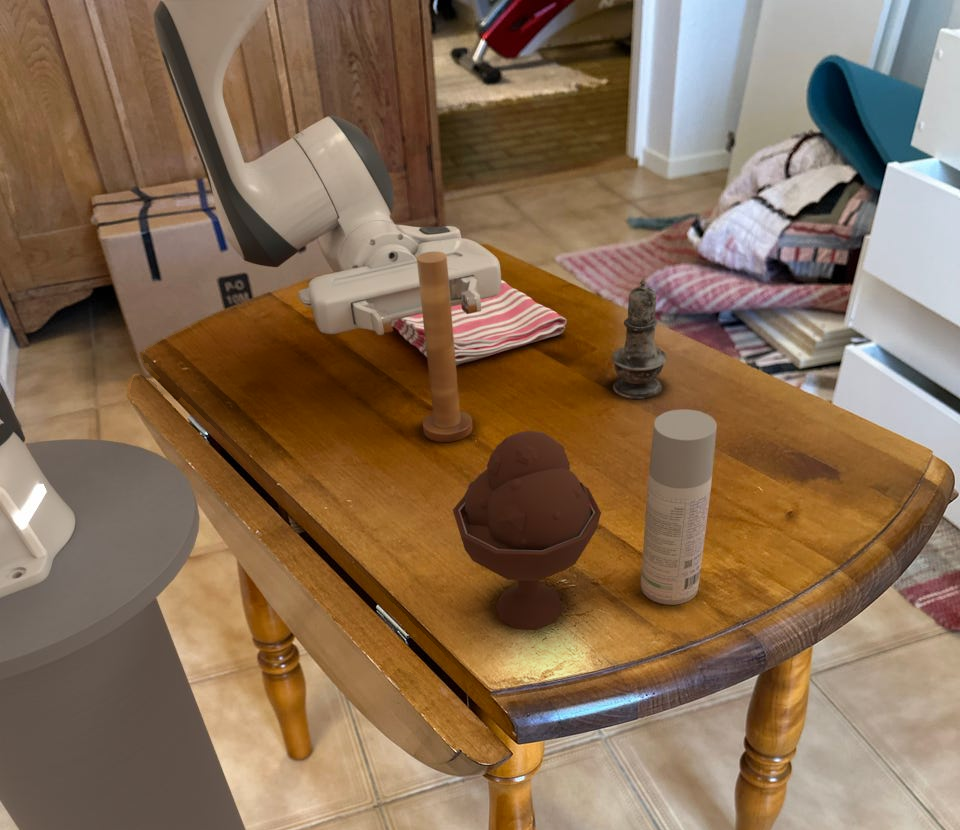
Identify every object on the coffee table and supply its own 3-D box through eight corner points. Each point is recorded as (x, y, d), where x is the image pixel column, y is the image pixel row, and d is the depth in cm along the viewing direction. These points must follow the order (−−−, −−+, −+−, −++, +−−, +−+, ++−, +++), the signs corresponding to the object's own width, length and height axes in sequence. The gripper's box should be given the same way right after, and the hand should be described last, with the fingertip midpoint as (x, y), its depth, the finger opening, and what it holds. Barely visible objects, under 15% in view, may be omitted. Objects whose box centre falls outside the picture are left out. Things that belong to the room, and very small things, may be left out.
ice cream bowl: (439, 596, 77) (420, 437, 67) (552, 551, 81) (550, 394, 71) (502, 671, 70) (492, 505, 60) (623, 618, 74) (632, 454, 64)
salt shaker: (650, 371, 105) (657, 264, 97) (673, 393, 101) (683, 283, 92) (602, 381, 104) (605, 273, 96) (623, 404, 99) (628, 294, 91)
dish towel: (445, 375, 107) (443, 346, 105) (367, 308, 123) (363, 282, 121) (570, 337, 113) (570, 309, 110) (480, 278, 128) (478, 252, 126)
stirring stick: (446, 448, 95) (429, 271, 83) (413, 431, 98) (392, 258, 86) (482, 428, 98) (471, 254, 86) (449, 412, 101) (434, 242, 88)
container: (687, 565, 78) (705, 404, 68) (706, 600, 75) (728, 435, 65) (633, 573, 78) (644, 413, 68) (650, 609, 75) (663, 444, 64)
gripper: (287, 260, 97) (323, 307, 87) (468, 222, 102) (521, 262, 92) (299, 319, 101) (335, 370, 91) (472, 280, 106) (523, 324, 96)
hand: (430, 315), depth 92 cm, fingers open, 8 cm apart
